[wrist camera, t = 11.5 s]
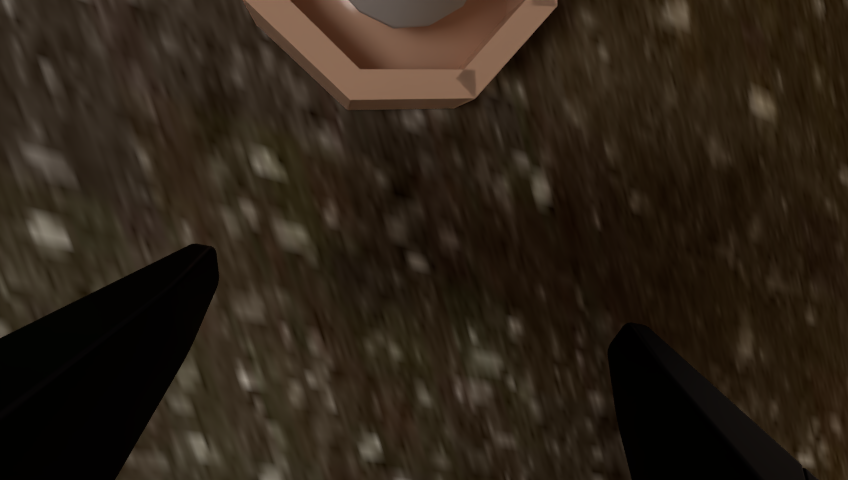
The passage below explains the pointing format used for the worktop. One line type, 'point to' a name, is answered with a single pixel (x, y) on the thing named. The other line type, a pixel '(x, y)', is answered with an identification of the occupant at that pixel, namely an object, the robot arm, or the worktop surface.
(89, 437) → the robot arm
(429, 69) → the pink octagonal dish
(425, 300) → the worktop surface
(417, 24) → the salt shaker
